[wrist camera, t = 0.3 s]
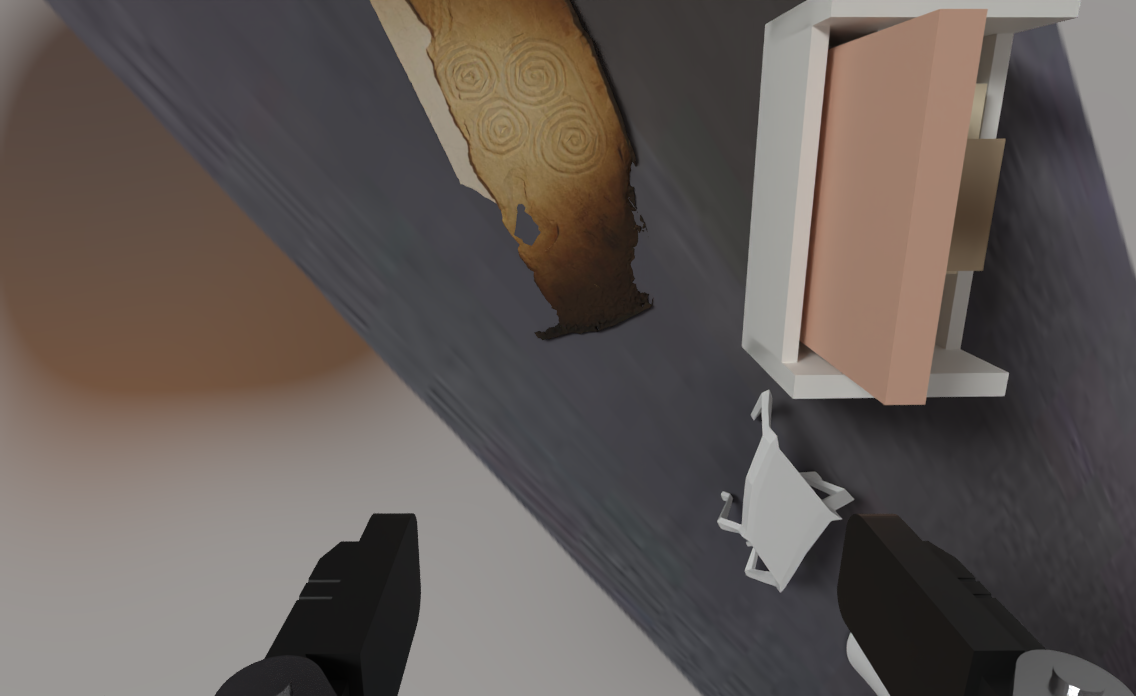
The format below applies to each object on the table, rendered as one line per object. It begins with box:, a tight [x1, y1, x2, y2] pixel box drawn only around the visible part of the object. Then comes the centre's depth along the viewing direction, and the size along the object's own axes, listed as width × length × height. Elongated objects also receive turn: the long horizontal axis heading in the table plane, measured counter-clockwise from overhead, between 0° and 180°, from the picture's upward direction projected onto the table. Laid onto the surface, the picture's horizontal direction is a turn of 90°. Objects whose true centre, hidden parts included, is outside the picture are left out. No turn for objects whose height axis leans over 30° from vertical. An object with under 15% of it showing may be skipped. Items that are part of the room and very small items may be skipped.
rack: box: [742, 0, 1081, 399], centre depth 34 cm, size 18×10×9 cm, turn 0°
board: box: [799, 9, 988, 405], centre depth 31 cm, size 14×2×14 cm, turn 0°
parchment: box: [370, 0, 653, 340], centre depth 37 cm, size 25×10×1 cm, turn 24°
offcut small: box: [946, 139, 1006, 271], centre depth 32 cm, size 6×4×2 cm, turn 0°
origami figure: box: [717, 390, 854, 592], centre depth 41 cm, size 12×8×5 cm
